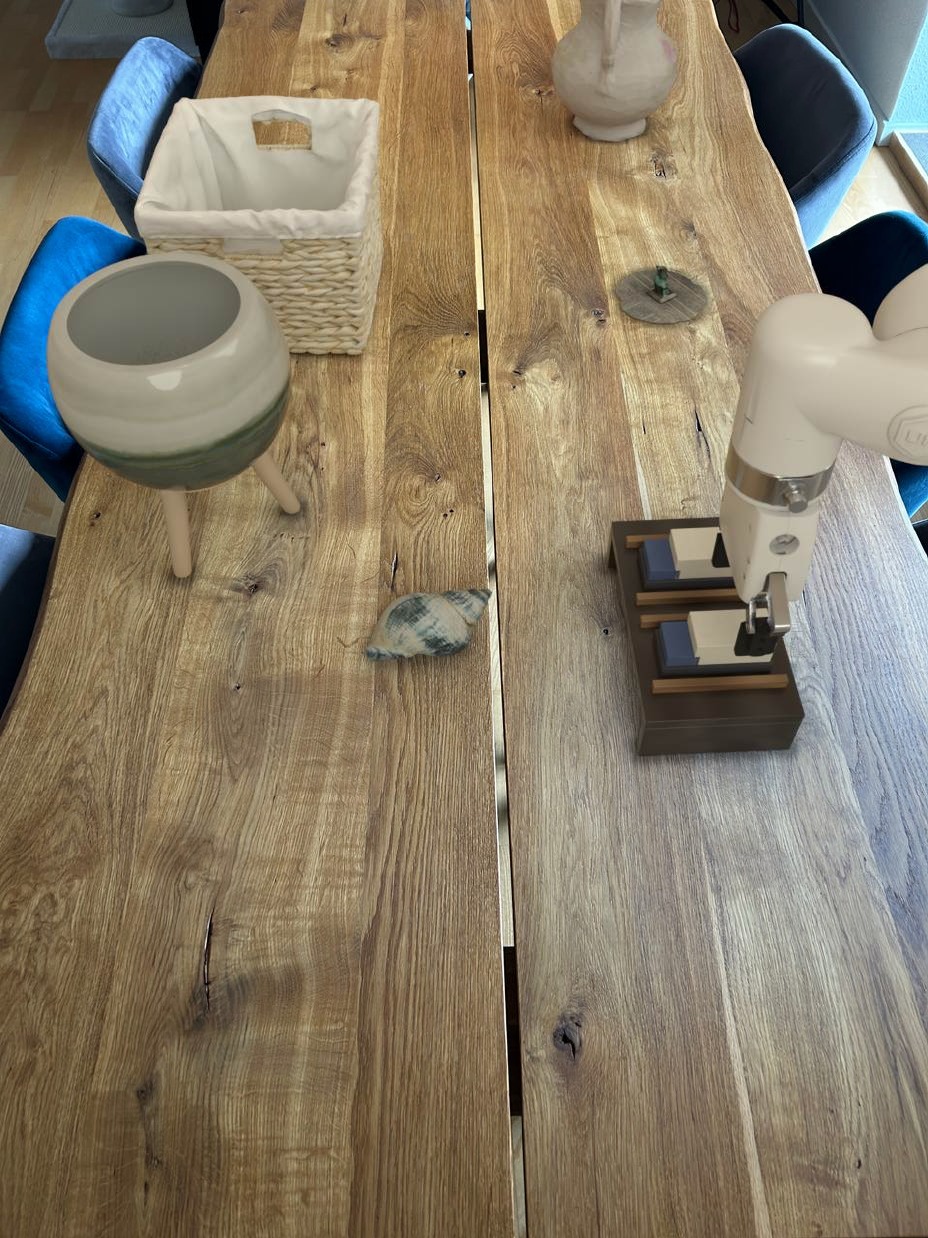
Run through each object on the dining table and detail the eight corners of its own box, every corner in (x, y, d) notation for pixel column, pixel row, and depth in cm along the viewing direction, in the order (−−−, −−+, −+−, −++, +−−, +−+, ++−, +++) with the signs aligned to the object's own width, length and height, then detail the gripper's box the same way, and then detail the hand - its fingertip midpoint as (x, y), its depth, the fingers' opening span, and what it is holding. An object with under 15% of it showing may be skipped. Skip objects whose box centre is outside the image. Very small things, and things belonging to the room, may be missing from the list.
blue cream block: (760, 632, 94) (769, 605, 91) (771, 671, 92) (781, 645, 88) (653, 636, 94) (658, 610, 91) (660, 676, 92) (666, 650, 88)
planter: (147, 450, 120) (69, 237, 98) (332, 454, 119) (295, 240, 97) (95, 596, 107) (-9, 387, 84) (303, 602, 105) (253, 392, 83)
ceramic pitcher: (673, 166, 158) (714, -9, 139) (549, 160, 157) (572, -17, 138) (655, 100, 172) (689, -69, 152) (540, 94, 170) (560, -76, 151)
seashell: (376, 629, 105) (492, 636, 104) (362, 665, 98) (485, 674, 97) (374, 573, 102) (493, 580, 101) (359, 607, 95) (486, 615, 94)
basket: (379, 367, 128) (362, 208, 111) (170, 366, 129) (121, 208, 112) (395, 246, 145) (382, 90, 127) (209, 245, 146) (172, 91, 128)
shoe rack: (736, 553, 108) (750, 508, 103) (789, 749, 94) (808, 709, 88) (606, 559, 108) (612, 514, 102) (638, 756, 93) (647, 716, 88)
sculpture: (631, 264, 141) (674, 232, 135) (672, 314, 144) (716, 284, 138) (602, 307, 134) (646, 275, 128) (645, 359, 137) (691, 329, 131)
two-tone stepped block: (738, 551, 100) (746, 523, 97) (747, 586, 98) (756, 559, 95) (637, 555, 100) (642, 528, 97) (644, 590, 98) (649, 563, 94)
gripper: (864, 545, 68) (809, 687, 82) (802, 380, 79) (762, 530, 92) (753, 552, 68) (716, 693, 82) (705, 387, 79) (679, 536, 93)
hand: (740, 607), depth 87 cm, fingers open, 9 cm apart
